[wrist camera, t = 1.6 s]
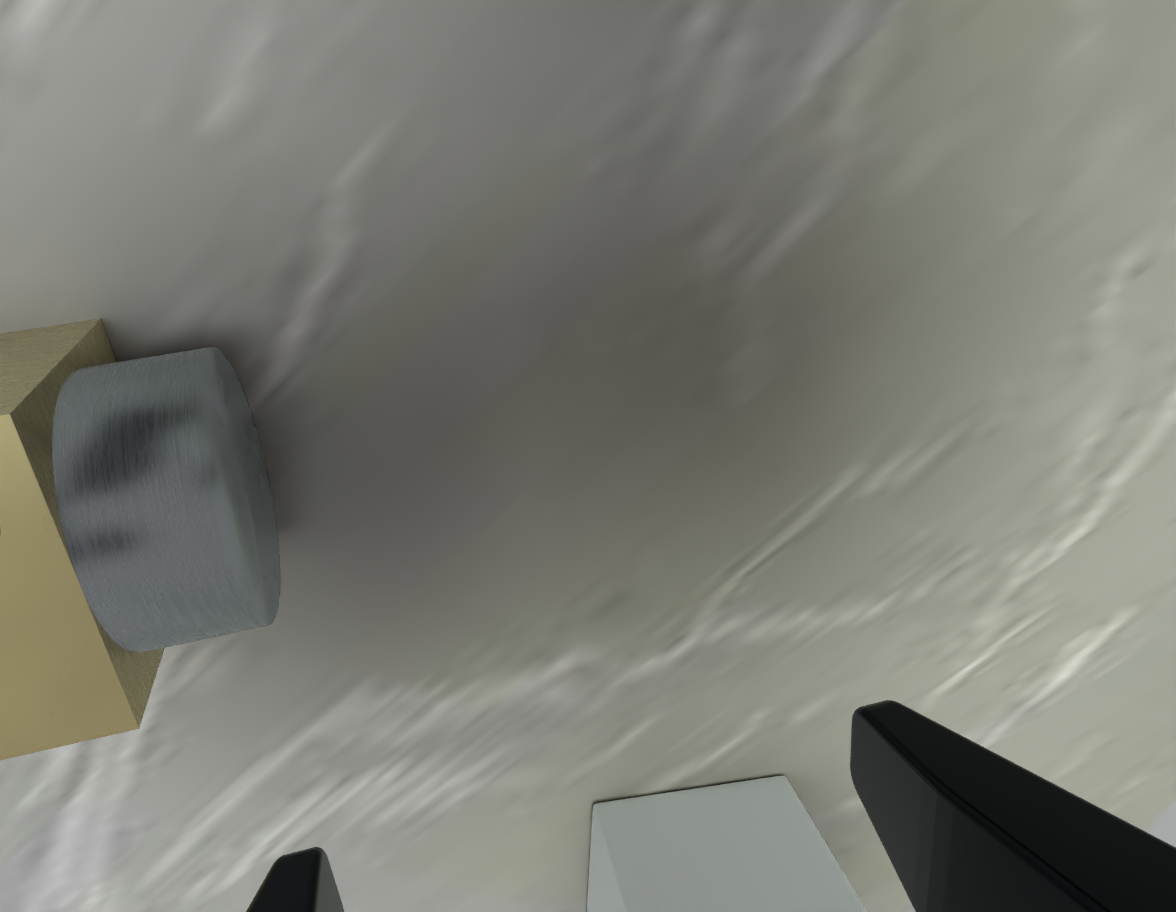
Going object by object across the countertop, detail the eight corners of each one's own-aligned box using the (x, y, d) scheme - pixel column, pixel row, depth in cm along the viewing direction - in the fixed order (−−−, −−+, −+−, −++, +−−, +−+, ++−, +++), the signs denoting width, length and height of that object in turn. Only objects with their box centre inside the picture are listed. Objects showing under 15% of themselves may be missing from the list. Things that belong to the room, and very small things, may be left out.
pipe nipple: (220, 299, 18) (172, 386, 13) (290, 550, 20) (272, 698, 16) (-236, 370, 16) (-470, 494, 12) (-100, 629, 19) (-247, 816, 14)
